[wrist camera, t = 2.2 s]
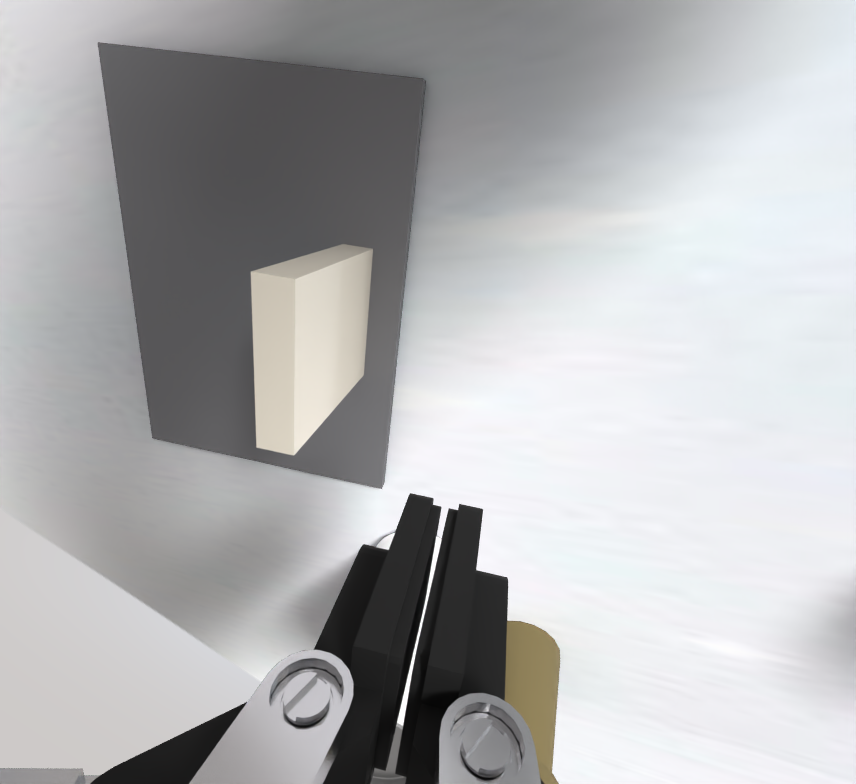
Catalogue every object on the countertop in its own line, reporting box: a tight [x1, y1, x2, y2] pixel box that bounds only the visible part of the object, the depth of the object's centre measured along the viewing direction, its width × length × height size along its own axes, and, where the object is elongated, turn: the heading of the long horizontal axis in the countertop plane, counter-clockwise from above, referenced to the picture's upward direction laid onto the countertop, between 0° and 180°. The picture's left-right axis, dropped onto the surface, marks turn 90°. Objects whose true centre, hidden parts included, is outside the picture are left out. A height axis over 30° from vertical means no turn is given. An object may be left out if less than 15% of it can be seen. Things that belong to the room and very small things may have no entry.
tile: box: [251, 244, 373, 455], centre depth 21 cm, size 7×2×9 cm, turn 173°
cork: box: [505, 621, 560, 784], centre depth 29 cm, size 6×6×11 cm
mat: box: [98, 42, 426, 489], centre depth 26 cm, size 22×16×1 cm
